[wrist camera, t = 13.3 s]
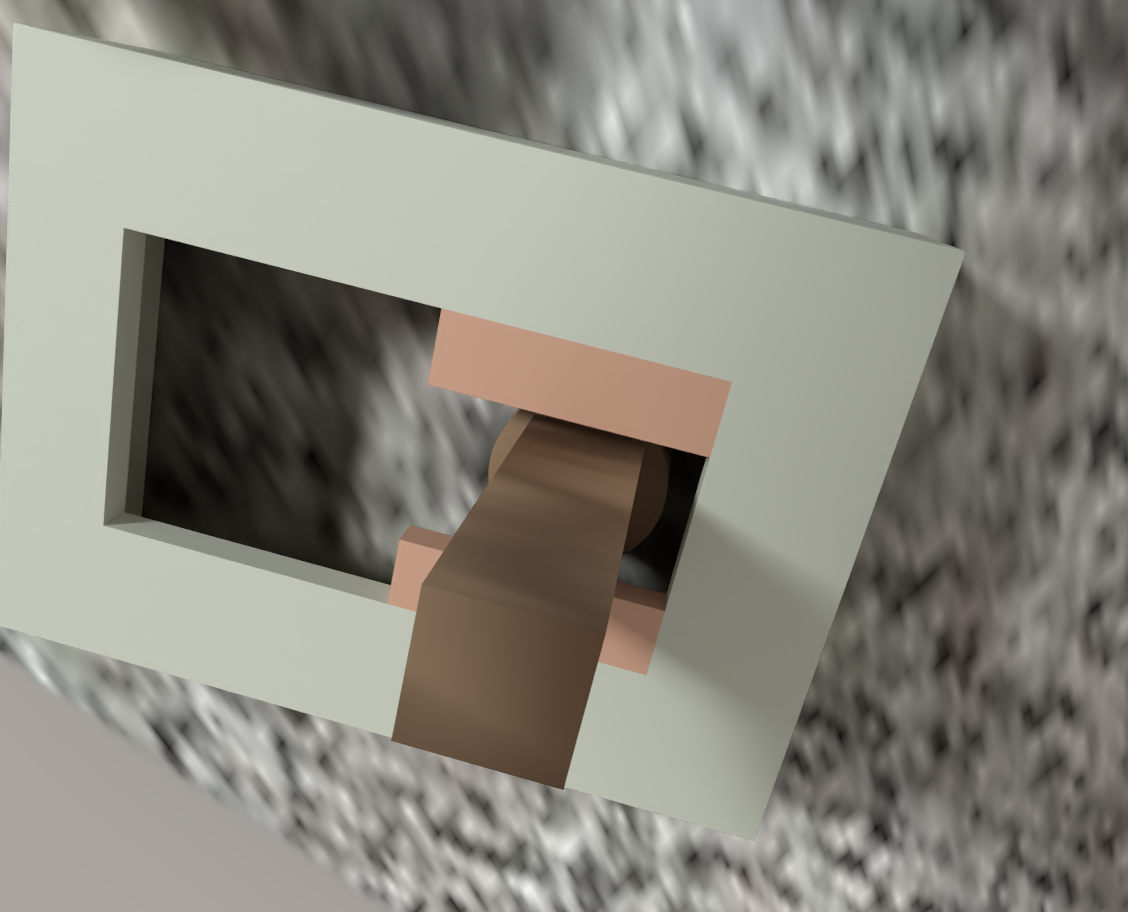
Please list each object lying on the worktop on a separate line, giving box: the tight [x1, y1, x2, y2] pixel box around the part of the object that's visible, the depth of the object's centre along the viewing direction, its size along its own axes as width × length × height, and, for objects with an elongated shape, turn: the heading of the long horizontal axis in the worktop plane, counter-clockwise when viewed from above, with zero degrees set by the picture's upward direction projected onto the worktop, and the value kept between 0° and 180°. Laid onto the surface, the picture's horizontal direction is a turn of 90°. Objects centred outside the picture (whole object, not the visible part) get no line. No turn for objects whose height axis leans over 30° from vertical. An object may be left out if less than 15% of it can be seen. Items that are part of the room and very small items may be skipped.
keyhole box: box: [0, 23, 966, 841], centre depth 26 cm, size 22×16×6 cm
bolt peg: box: [391, 408, 672, 790], centre depth 22 cm, size 5×5×14 cm
